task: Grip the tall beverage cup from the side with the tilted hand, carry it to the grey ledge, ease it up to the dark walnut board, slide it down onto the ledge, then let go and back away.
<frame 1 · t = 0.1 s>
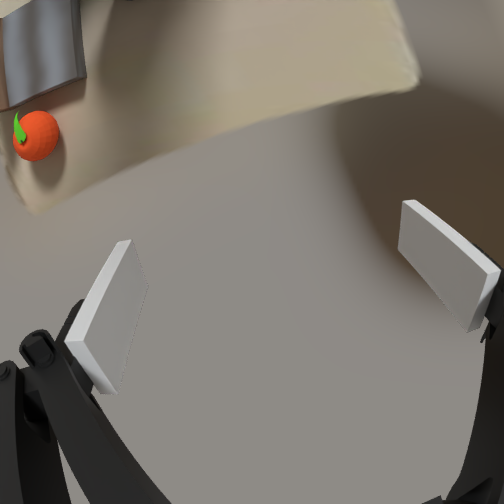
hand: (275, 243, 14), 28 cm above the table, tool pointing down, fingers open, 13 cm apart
clementine: (47, 128, 34), on the table
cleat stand: (45, 44, 28), on the table
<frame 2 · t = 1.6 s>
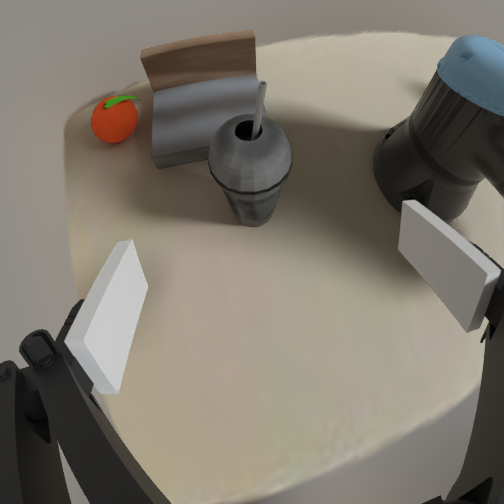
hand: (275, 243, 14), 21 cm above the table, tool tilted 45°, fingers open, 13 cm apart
clementine: (126, 132, 41), on the table
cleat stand: (209, 123, 41), on the table
beverage cup: (253, 209, 37), on the table
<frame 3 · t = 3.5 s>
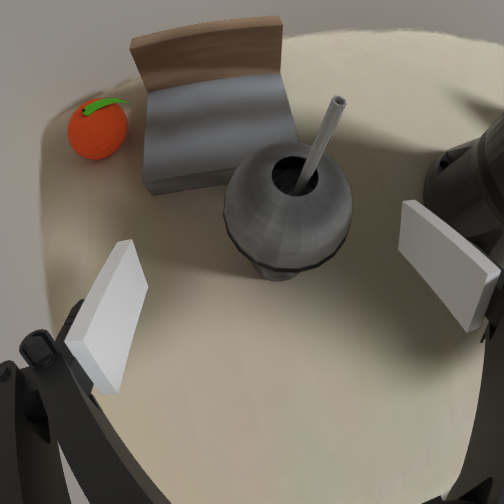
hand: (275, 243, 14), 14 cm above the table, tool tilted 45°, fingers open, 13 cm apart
clementine: (113, 143, 33), on the table
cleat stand: (219, 135, 32), on the table
beverage cup: (277, 257, 29), on the table
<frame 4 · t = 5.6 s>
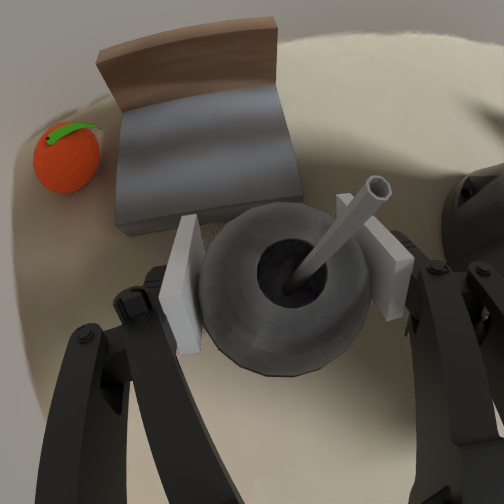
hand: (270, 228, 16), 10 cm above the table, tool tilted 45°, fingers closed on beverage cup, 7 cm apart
clementine: (87, 172, 28), on the table
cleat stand: (205, 162, 28), on the table
beverage cup: (274, 311, 24), on the table, touching gripper
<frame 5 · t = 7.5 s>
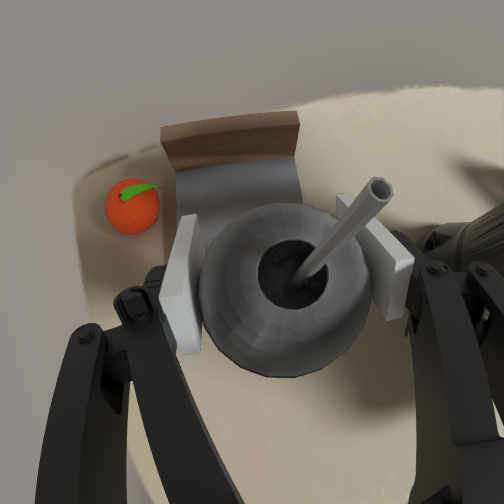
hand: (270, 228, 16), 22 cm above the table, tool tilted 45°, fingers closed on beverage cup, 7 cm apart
clementine: (145, 214, 40), on the table
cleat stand: (240, 216, 39), on the table
beverage cup: (274, 312, 24), point 12 cm above the table, touching gripper
when the fingers open (14 cm above the table, at t = 9.9 s): beverage cup drops 1 cm, resting on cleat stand.
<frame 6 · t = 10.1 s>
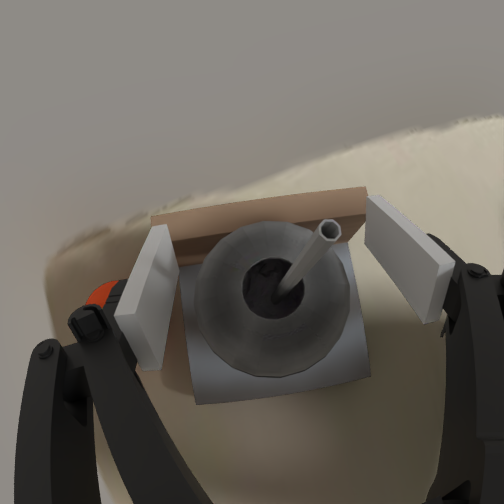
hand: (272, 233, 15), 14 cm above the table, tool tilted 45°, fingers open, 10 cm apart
clementine: (140, 319, 29), on the table
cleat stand: (273, 325, 28), on the table
beverage cup: (270, 314, 26), point 3 cm above the table, touching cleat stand
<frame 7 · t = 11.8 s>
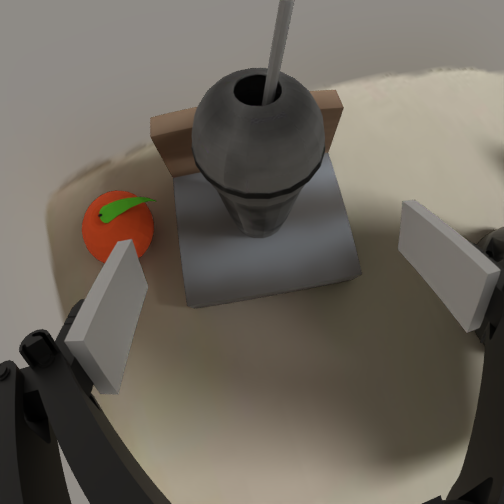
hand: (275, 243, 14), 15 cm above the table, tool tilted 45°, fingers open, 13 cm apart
clementine: (136, 236, 30), on the table
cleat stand: (263, 232, 30), on the table
beverage cup: (259, 214, 27), point 3 cm above the table, touching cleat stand
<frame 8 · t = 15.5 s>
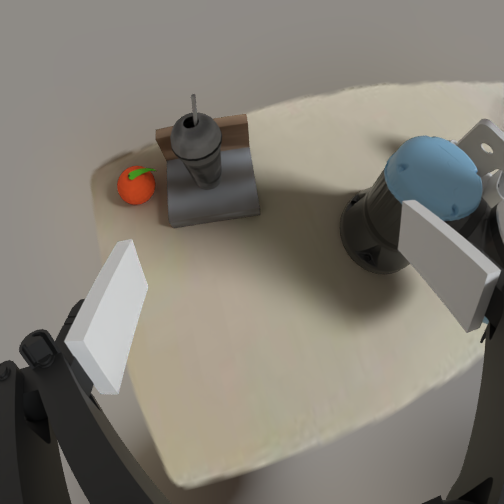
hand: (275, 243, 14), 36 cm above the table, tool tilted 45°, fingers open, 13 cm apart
clementine: (145, 192, 55), on the table
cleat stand: (212, 190, 54), on the table
beverage cup: (208, 178, 52), point 3 cm above the table, touching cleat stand
phone holder: (472, 177, 54), on the table
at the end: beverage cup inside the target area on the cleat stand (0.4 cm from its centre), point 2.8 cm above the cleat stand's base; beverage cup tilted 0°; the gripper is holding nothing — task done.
